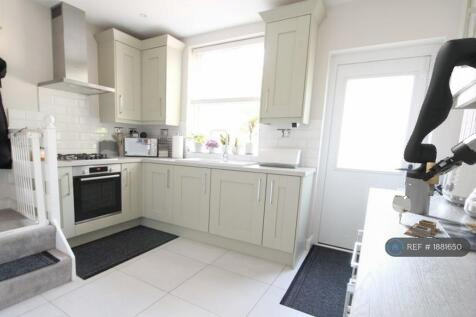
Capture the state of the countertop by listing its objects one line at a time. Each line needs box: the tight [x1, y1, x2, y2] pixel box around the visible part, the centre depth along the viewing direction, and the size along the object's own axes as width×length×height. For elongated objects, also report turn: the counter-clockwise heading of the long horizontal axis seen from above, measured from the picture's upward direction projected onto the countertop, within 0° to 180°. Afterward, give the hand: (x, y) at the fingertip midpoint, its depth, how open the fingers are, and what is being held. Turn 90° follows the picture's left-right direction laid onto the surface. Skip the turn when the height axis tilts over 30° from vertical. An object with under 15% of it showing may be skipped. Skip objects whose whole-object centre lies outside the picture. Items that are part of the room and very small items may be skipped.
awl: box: [425, 162, 440, 197], centre depth 79 cm, size 4×4×12 cm
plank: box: [403, 218, 441, 239], centre depth 77 cm, size 18×7×4 cm, turn 130°
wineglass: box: [391, 194, 411, 224], centre depth 85 cm, size 6×6×12 cm
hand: (425, 179), depth 81 cm, fingers closed on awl, 3 cm apart
